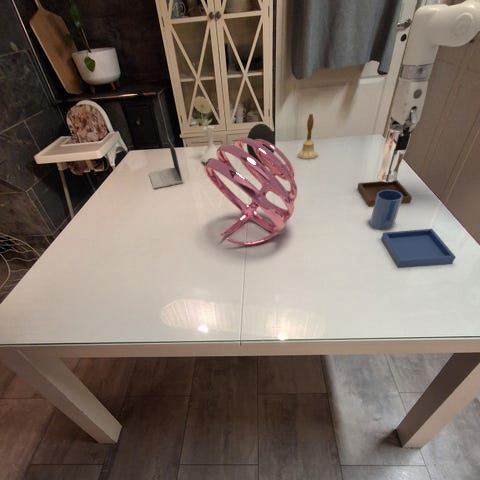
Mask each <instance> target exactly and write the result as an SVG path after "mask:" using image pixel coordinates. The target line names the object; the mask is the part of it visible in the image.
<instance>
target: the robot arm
mask: <svg viewBox="0 0 480 480" xmlns="http://www.w3.org/2000/svg"><path fill="white" fill-rule="evenodd" d="M478 32H480V0H464V1H463V2H461V3H456V4H452V5H448V4H445V3H438V4H437V3H436V4H435V3H434V4H426V5H422V6H420V7H418V8H417V9H416V10H415V12H414V14H413V17H412V22H411V26H410V31H409V33H408V38H407V43H406V47H405V52H404V55H403V58H402V59H403V60H402V64H401V67H400V72H399V76H398V81H399V82H398V85H397V88H396V92H395V96H394V99H393V103H392V106H391V113H390V122H389V126H391V125H395V124H401V133H400V135H399V136H398V140H397V143H396V147H395V150H396V151H399V150H406V149H407V150H408V147H407V145H408V146H409V144H408V142H409V143H410V141H409V138H410V139H411V137H410V135H411V136H412V133H413V131H414V130H415V128H416V126H417V125H418V123H419V122H420V119H421V116H422V112H423V109H424V105H425V101H426V96H427V93H428V86H429V80H430V78H431V74H432V71H433V67H434V64H435V60H436V57H437V54H438V51H439V47H440V46H442V47H443V46H444V47H450V48H451V47H452V48H455V47H461V46H464V45H466V44H468V43H469V42H470V41H472V40H473V38H474V37H476V36H477V34H478ZM405 126H409V127H407V128H406V129H405ZM404 129H405V130H404ZM407 150H406V151H407Z"/></svg>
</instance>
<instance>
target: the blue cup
mask: <svg viewBox="0 0 480 480" xmlns="http://www.w3.org/2000/svg"><path fill="white" fill-rule="evenodd" d="M402 198H403V195H402V194H401V193H400V192H398V191H394V190H383V191H380V192H378V193H377V197H376V201H375V205H374V206H373V207H372V208H373V209H372V213H371V217H370V221H369V224H370V226H371V227H372V228H375V229H378V230H389V229H391V228H393V227H394V226H395V223H396V219H397V217H398V213H399V209H400V207H401V205H402V204H401V201H402Z"/></svg>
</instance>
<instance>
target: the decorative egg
mask: <svg viewBox="0 0 480 480" xmlns="http://www.w3.org/2000/svg"><path fill="white" fill-rule="evenodd" d="M246 138H250V139H253V140H255V139H262V140H265V141H268V142H269V143H271V144H273V145H274V146H275V147H276V137H275V134H274V132H273V130H272V129H271V128H270V127H269V126H268V125H267V124H265V123H257V124H255V125H253V126H252V127H251V128H250V130H249V132H248V134H247V136H246ZM262 145H263V146H265V147H266V148H267V149H269V150H270V151H271V152H272V153H273V154H274V155H275V151H274V150H272V149H271V148H270V147H268V146H266V145H264V144H262ZM246 149H247V153H249V154H250V155H251V156H253V157H254V158H255V159H257V160H258V161H259V162H260V163H261V164H263V163H262V161H261V160H260V159H259V158H258V156H257V155H256V153H255V151H254V149H253V147H252V146H250V145H248V144H246Z"/></svg>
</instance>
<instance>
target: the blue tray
mask: <svg viewBox="0 0 480 480" xmlns="http://www.w3.org/2000/svg"><path fill="white" fill-rule="evenodd" d="M381 241H382V243H383V244H384V246H385V248H386V250H387V252H388V253H389V254H390V256H391V258H392V260H393V261H394V263H395V265H396V267H397V268H410V267H421V266H422V267H423V266H424V267H425V266H437V265H450V264H451V265H452V264H453V263H454V261H455V259H456V255H455V254H454V252H452V251H451V249H450V248H449V247H448V245H446V243H445V242H444V241H443V239H441V238H440V235H438V234H437V233H436V231H435V230H434V229H433V228H423V229H411V230H410V229H409V230H400V231H399V230H397V231H387V232H385V231H384V232H382V235H381Z"/></svg>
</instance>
